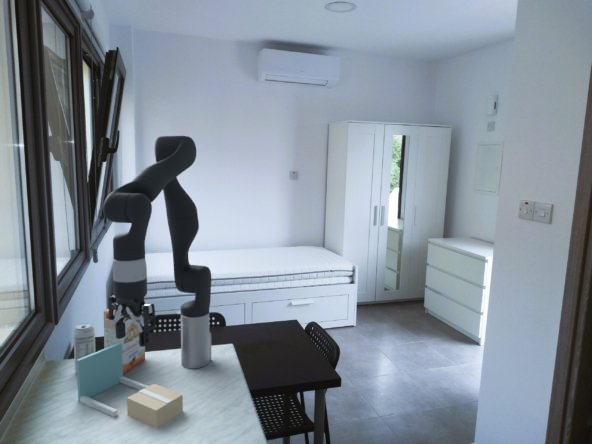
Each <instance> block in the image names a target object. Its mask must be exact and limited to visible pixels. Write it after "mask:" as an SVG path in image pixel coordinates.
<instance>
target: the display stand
mask: <svg viewBox="0 0 592 444" xmlns="http://www.w3.org/2000/svg"><path fill="white" fill-rule="evenodd" d="M76 361H77V372H76V380H77V401H78V402H79V403H82V404H84V405H86V406H88V407H90V408H92V409H95V410H97V411H99V412H102V413H104V414H106V415H109V416H111V417H113V418H115V417H117V416H118V409H116V408H113V407H111V406H109V405H107V404H105V403H102V402H99V401H97V400H96V399H93V398H92V397H94V396H96V395H98V394H99V393H102V392H104V391H105V390H107V389H110V388H112V387H114V386H115V385H118V384H120V383H121V384H124V385H126V386H129V387H131V388H134V389H137V390H138V391H140V390H142V389H145V388H147V387H149V386H150V385H147V384H145V383H141V382H139V381H136V380H133V379H131V378H129V377H126V376H124V374H123V367H122V343H117V344H115V345H112V346H110V347H107V348H105V349H104V348H102V349H99V350H98V351H96V352H95V353H92V354H90V355H87V356H85V357H82V358H80V359H78V360H76Z"/></svg>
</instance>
